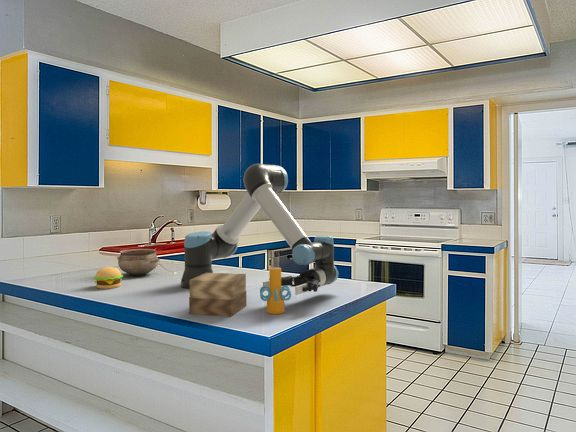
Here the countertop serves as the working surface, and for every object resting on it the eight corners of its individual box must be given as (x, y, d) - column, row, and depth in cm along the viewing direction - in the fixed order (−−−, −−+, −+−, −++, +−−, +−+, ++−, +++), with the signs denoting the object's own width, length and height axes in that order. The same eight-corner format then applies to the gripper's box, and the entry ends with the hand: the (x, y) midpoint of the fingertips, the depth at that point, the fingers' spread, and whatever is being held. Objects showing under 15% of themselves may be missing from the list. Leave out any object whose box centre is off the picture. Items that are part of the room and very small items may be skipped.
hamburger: (128, 285, 204) (128, 265, 204) (111, 290, 193) (111, 270, 192) (105, 283, 207) (105, 264, 207) (87, 288, 196) (87, 268, 196)
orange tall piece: (259, 308, 161) (259, 265, 161) (289, 307, 162) (288, 265, 162) (260, 317, 149) (260, 271, 148) (292, 316, 150) (292, 271, 149)
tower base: (189, 315, 154) (189, 297, 153) (207, 304, 168) (207, 288, 168) (231, 318, 150) (231, 299, 150) (246, 307, 165) (246, 290, 164)
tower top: (189, 297, 153) (189, 280, 152) (206, 288, 167) (206, 272, 167) (232, 299, 150) (232, 281, 150) (245, 290, 164) (245, 273, 164)
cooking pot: (170, 273, 234) (170, 249, 233) (147, 280, 216) (146, 254, 215) (130, 270, 242) (130, 247, 242) (104, 276, 225) (104, 252, 224)
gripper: (341, 292, 167) (310, 304, 150) (284, 285, 181) (251, 294, 164) (341, 272, 167) (310, 281, 149) (284, 266, 181) (250, 274, 163)
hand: (279, 288), depth 156 cm, fingers open, 13 cm apart
